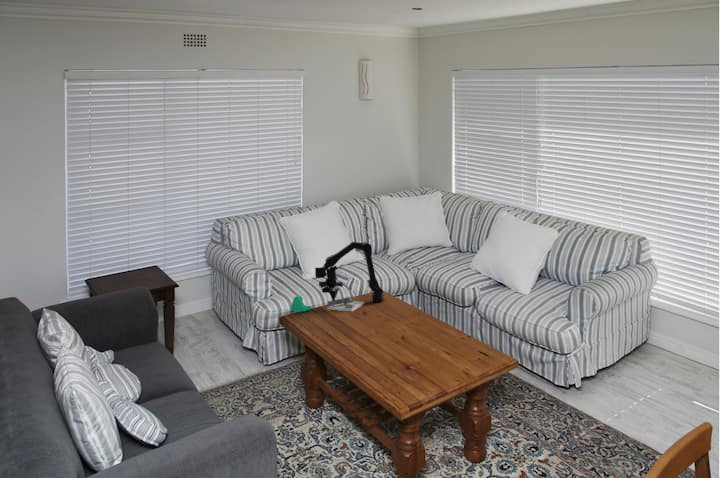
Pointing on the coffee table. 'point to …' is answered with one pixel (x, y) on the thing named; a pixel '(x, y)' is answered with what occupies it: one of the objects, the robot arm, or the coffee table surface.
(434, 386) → the coffee table surface
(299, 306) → the green irregular lump
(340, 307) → the levelling board
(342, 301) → the footscrew knob
